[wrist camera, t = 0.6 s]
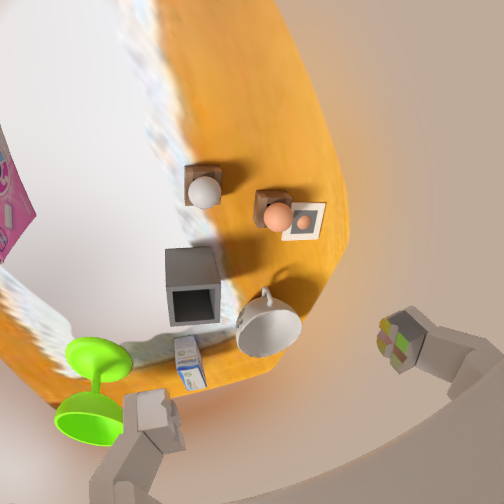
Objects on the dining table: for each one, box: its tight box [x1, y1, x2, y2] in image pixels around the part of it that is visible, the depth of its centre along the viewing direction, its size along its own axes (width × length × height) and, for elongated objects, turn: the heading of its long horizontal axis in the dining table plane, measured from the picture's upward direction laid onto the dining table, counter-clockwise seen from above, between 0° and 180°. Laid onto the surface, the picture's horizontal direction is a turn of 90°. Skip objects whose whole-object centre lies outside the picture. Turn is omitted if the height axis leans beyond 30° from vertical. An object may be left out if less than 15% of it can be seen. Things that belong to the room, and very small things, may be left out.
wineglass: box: [54, 337, 132, 446], centre depth 50 cm, size 16×16×18 cm
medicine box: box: [174, 335, 207, 391], centre depth 58 cm, size 8×4×9 cm, turn 5°
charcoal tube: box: [165, 247, 221, 326], centre depth 46 cm, size 8×8×10 cm
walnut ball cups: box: [184, 166, 293, 228], centre depth 45 cm, size 9×16×3 cm, turn 85°
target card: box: [281, 202, 325, 241], centre depth 51 cm, size 7×7×1 cm
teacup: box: [236, 287, 302, 358], centre depth 56 cm, size 15×12×8 cm
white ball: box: [188, 176, 221, 209], centre depth 40 cm, size 4×4×4 cm
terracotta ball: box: [264, 203, 293, 232], centre depth 44 cm, size 4×4×4 cm
